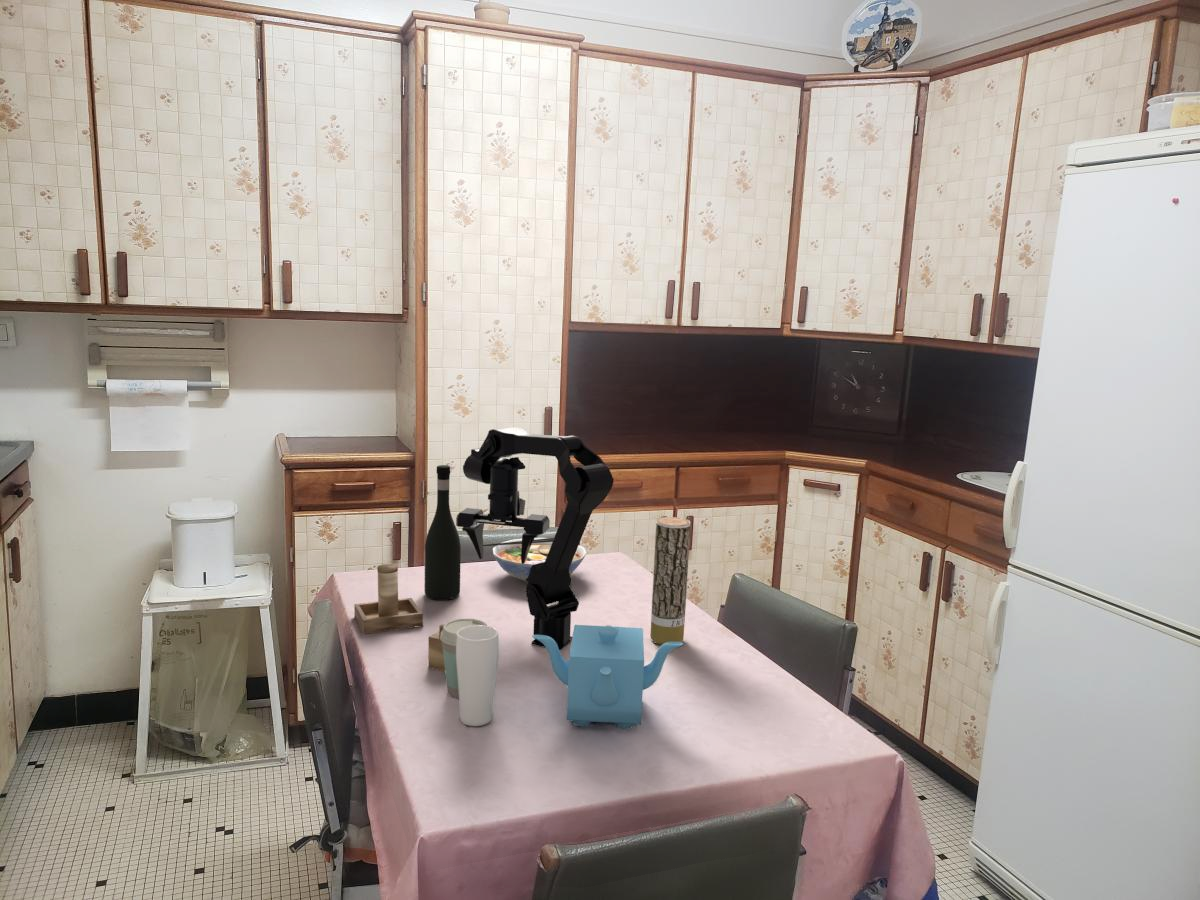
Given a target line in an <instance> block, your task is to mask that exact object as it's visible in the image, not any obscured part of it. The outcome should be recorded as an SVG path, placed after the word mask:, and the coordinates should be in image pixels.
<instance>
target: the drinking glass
mask: <svg viewBox="0 0 1200 900" xmlns="http://www.w3.org/2000/svg"><path fill="white" fill-rule="evenodd" d="M499 639H500V638H499V631H498V630H497V629H496V628H495V627H493V626H488V625H487V626H485V625H472V626H467V627H463V628H461V629H459V630H458V631H457V637H456V666H457V679H458V692H459V699H458V701H459V703H458V705H459V720H460V722H461V723H462V724H463V725H466V726H469V727H482V726H485V725H487V724H489V723H490V722H491V721H492V720H493V717H494V702H495V701H494V700H495V693H496V692H495V689H496V682H497V674H498V665H499V664H498V663H499V650H500V649H499V646H500V643H499V642H500V641H499Z"/></svg>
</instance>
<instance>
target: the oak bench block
mask: <svg viewBox="0 0 1200 900" xmlns="http://www.w3.org/2000/svg"><path fill="white" fill-rule="evenodd" d="M445 624H446V623H442V624H440V625H439V626H438V627H439V629H438V630H439V631H436V632H434V633H432V634H431V635H429V636H428V653H427V655H428V656H427V657H428V662H427V663H428V665H427V666H428V667H427V668H428V669H432V668H433V670H436V669H438V670H437V671H441V672H445V665H444V655H443V646H442V641H441V639H440V636H441V632H442V630H443V627H444V625H445Z"/></svg>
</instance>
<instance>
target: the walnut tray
mask: <svg viewBox="0 0 1200 900" xmlns="http://www.w3.org/2000/svg"><path fill="white" fill-rule="evenodd" d="M353 607H354V619H355V621H356V622H357V624H358V625H359V628H360V629H361V632H362V633H363V634H365V635H366V634H374V633H382V632H389V631H396V629H398V630H404V629H403V628H406V629H411V628H410V627H414V628H416V627H415V626H422V627H424V613H423V611H422V610H421V609H420V607H419V606H418V604H417V603H416V602H415V600H414V599H413V598H412V597H406V598H400V599H399V598H398V615H394V616H385V617H379V610H378V601H372V602H371V601H370V602H363V603H361V602H360V603H354V604H353Z"/></svg>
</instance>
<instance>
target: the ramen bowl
mask: <svg viewBox="0 0 1200 900" xmlns="http://www.w3.org/2000/svg"><path fill="white" fill-rule="evenodd" d="M553 540H554V537H537V538H534V540H533V542H532V544H531V547H530V550H529V552H528V555H527V558H526V560H525V563H524V564H522V563H521V549H522V538H514V539H510V540H507V541H506V540H505V541H502V542H497V543H489V544H483V547H493V546H494V547H493V548H492V553H493V555H494V558H495V561H496V562H497V563H498V564H499V567H501V569H503V572H506V573H507V574H509V575H510V576H512V577H513V578H516V579H519V580H522V581H525V580H526V579H527V578H528V576H529V573H530V569H531V567H532V565H534V564H538V563H542V562H545V560H546V558H547V555H548V553H549V550H550V547H551V545H552V542H553ZM587 553H588V552H587V550H586V548H585V547H584V546H581V545H580V544H579V545H578V548H577V550H576V553H575V555H574V558H573V560H572V563H571V565H570V568H569V572H570V575H571V574H573V573H574V572H575V571H576V570H577V568H578V567H579V566H580V565H581V563H582V562H583V560H584V559H585V557H586V555H587ZM525 582H526V581H525Z"/></svg>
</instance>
